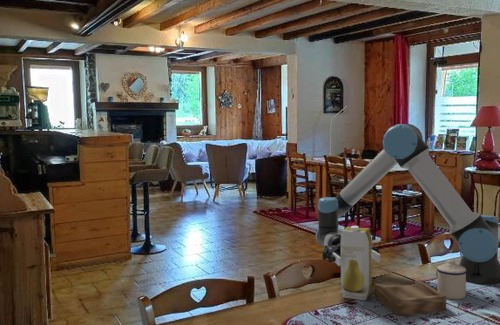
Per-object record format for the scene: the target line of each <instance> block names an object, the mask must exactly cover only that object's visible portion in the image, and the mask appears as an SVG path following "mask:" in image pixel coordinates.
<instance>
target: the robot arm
mask: <svg viewBox="0 0 500 325" xmlns="http://www.w3.org/2000/svg"><path fill="white" fill-rule="evenodd" d="M382 146H383V149H382V150H381V151H380V152H379V153H378V154H377V155H376V156H374V158H373V159H372V160H371V161H370V162H369V163H368V164H367V165H366V166H365V167H364V168H363V169H362V170H361V171H360V172H359V173H358V174H356V176H355V177H354V178H352V180H351V181H349V182H348V183H347V184H346V186H345V187H344V188H342V189H341V190H340V192H339V193H337V195H336V196H334V197H330V196H326V197H321V198H319V199H318V204H317V210H318V211H317V213H318V214H317V217H318V229H317V231H316V232H315V238H316V241H317V242H318V244H319V245H320V246H322V247H323V251H322V255H321V256H322V260H323V261H325V260H326V261H327V260H328V261H327V262H328V263H332V262H333V263H334V264H335V265H337V266H338V267H341V235H342V233H339V218H341V217H343V216H345V215H346V214H348V212H349V211H350V210H351V209H352V208H353V206H354V205H355V204H356V203H357V202H358V201H359V200H360V199H362V198H363V197H364V196H365V195H366V194H367V193H368V192H369V191H370V190H371V189H372V188H373V187H374V186H375V185H376V184H378V182H380V181H381V180H382V179H383V177H385V176H386V175H387V174H388V173H389V172H390V171H391V170H392V169H393V168H394V167H395V166H396V165H399V167H400V168H401V169H406V170H407V171H408V172H409V173H410V174H411V176H412V177H413V179H415V181H416V182H417V184H418V185H419V187H421V189H422V191H423V192H424V193H425V194H426V196H427V197H428V198H429V199H430V201H431V202H432V204H433V205H434V206H435V207H436V209H437V210H438V212H439V213H440V215H441V216H442V217H443V218H444V220H445V221H446V222H447V224H448V225H449V234H450V235H451V237H452V238H453V239H454V240H455V242H456V244H457V245H458V249H459V251H460V254H462V255H461V258H460V260H459V264H458V265H460V266H462V267H464V268H465V269H466V271H467V272H466V282H469V283H475V284H483V285H485V284H486V285H491V284H492V285H493V284H498V283H500V262H499V257H498V253H499V225H500V223H499V219H498V217H497V216H495V215H487V214H480V213H478V212H474V211H472V210H471V209H470V207H469V206H468V204H467V203H466V202H465V201H464V199H463V198H462V196H461V195H460V194H459V193H458V191H457V190H456V188H455V187H454V186H453V184H451V182H450V181H449V180H448V179H447V177H446V176H445V175H444V173H443V172H442V170H441V169H440V168H439V166H438V165H437V164H436V162H435V161H434V160H433V159H432V157H431V156H430V148H429V146H428V145H427V144H426V142H425V141H424V139H423V134H422V132H421V130H420V129H419V128H418V127H417V126H415V125H414V124H410V123H398V124H395V125H392V126H391V127H389V128H388V129H387V131H386V132H385V133H384V136H383V139H382ZM381 255H382V254H380V249H379V248H378V247H375V246H372V260H373V261H374V262H377V263H378V264H379V263H380V264H381V262H382V259H381V258H382V257H381Z"/></svg>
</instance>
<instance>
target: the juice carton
mask: <svg viewBox="0 0 500 325" xmlns="http://www.w3.org/2000/svg"><path fill="white" fill-rule="evenodd" d="M372 247H373V246H372V235H371V230H370V227H359V225H352V226H346V227H345V228H344V229H342V230H341V266H340V286H341V287H340V288H341V293H342V297H343V298H345V299H351V300H359V301H366V300H367V299H368V298H369V296H370V295H371V291H372V284H373V283H372V282H373V281H372V276H373V275H372V274H373V270H372V269H373V268H372V266H373V264H372V262H373V261H372V260H373V259H372Z"/></svg>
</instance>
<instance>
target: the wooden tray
mask: <svg viewBox="0 0 500 325" xmlns="http://www.w3.org/2000/svg"><path fill="white" fill-rule="evenodd" d="M373 287H374V292H373V293H374V294H373V295H374V298H375V299H376V300H377V301H379V302H380V303H381V304H383V306H384V307H386V308H387V309H388V310H389V311H391V312H392V313H393V314H394V315H396V316H398V317H400V316H405V315H417V314H425V313H437V312H444V311H447V298H446V296H445V295H443V294H442V293H440V292H438V289H437V290H436V288H434V287H432V286H430V285H428V284H427V283H425V282H424V281H422V280H420V279H414V284H407V285H395V286H393V285H392V286H386V287H385V286H383V285H382V284H380V283H374V286H373Z"/></svg>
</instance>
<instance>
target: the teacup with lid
mask: <svg viewBox="0 0 500 325" xmlns="http://www.w3.org/2000/svg"><path fill="white" fill-rule="evenodd" d="M466 272H467V271H466V269H465V268H464V267H462V266H460V265H459V264H458V263H456V261H455V260H454V259H449V260H448V261H447V262H446V263H444V264H443V263H442V264H439V265H438V266H437V268H436V271H435V274H436V276H435V277H436V279H437V291H438V292H440V293H442V294H443V295H445V296H446V299H447V300H463V299H464V298H466V294H467V292H466V290H467V289H466V287H467V281H466Z"/></svg>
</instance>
